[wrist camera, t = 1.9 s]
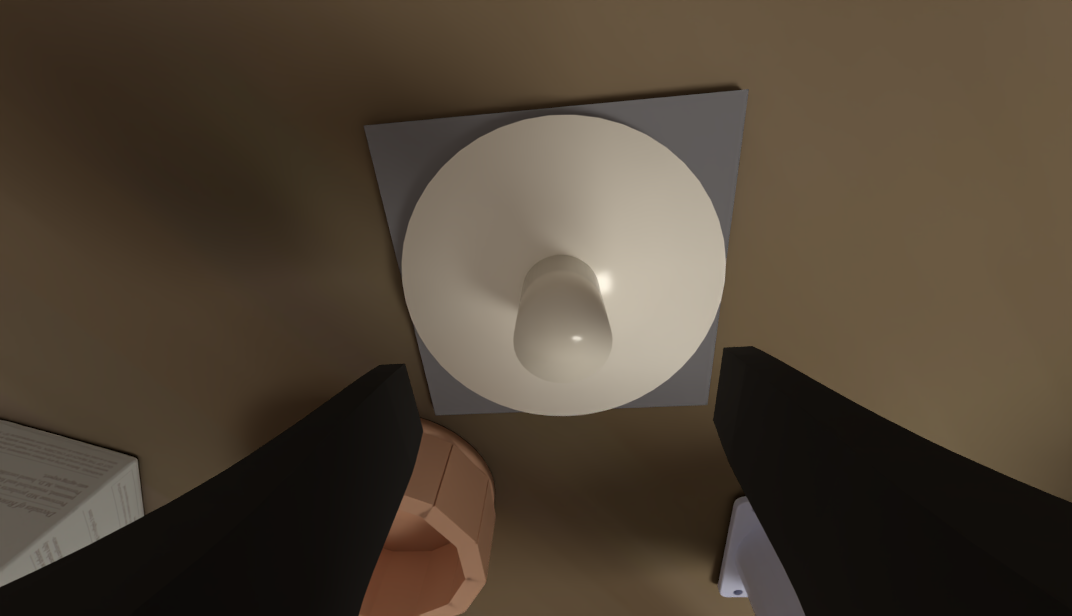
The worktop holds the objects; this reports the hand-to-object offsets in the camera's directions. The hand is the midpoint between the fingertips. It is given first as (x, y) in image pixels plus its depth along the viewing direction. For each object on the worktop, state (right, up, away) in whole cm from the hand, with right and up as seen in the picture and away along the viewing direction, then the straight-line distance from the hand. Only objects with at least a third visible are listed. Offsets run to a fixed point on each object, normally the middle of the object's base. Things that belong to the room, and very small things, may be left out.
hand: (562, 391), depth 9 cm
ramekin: (-8, -7, +12) cm, 16 cm away
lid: (0, +3, +6) cm, 7 cm away
